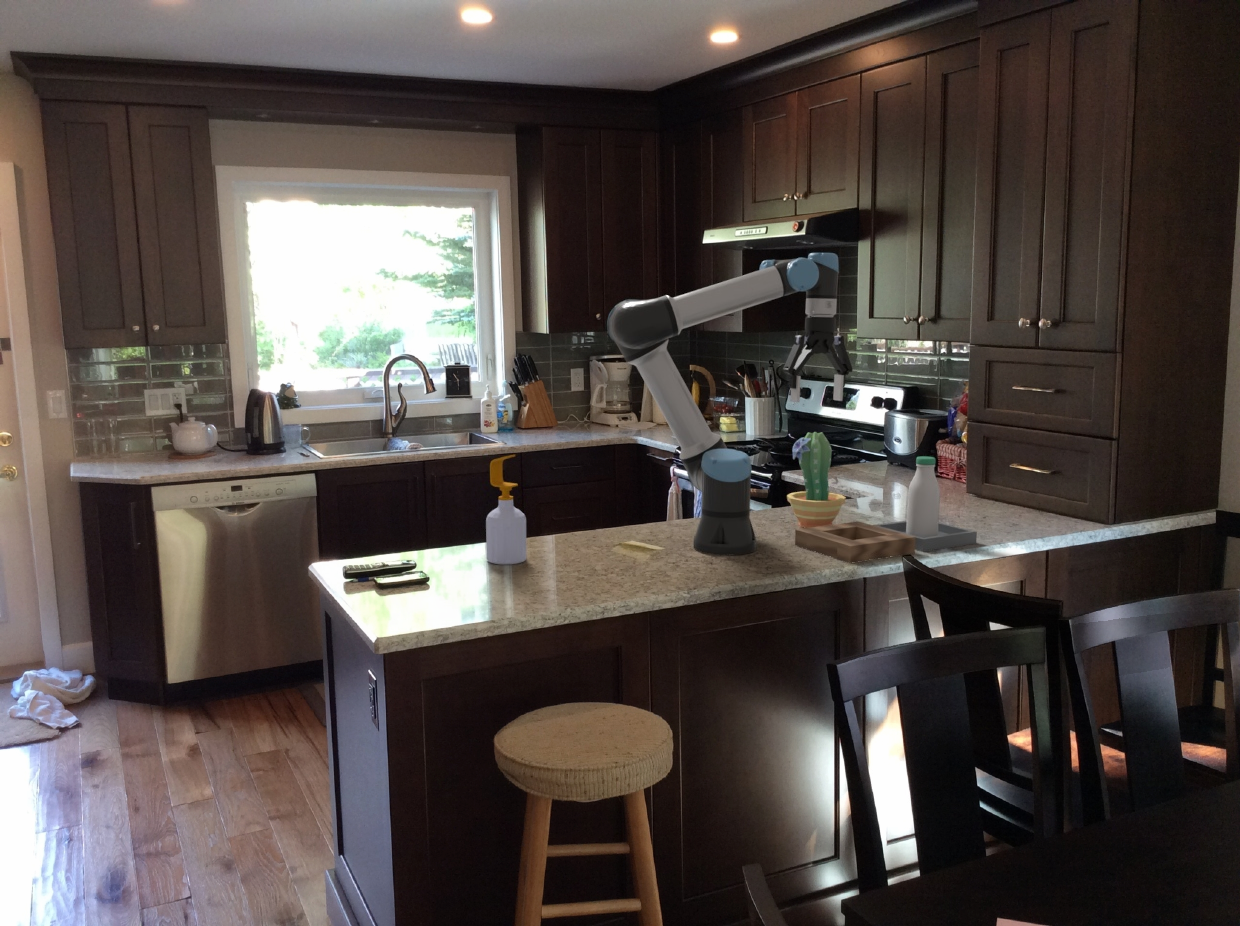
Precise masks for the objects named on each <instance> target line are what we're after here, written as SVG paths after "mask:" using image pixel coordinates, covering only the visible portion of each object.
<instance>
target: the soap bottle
mask: <svg viewBox="0 0 1240 926" xmlns="http://www.w3.org/2000/svg"><path fill="white" fill-rule="evenodd" d="M514 457H516V454H511V455H505V456H501V457H498V458H494V459H492V460H491V461H490V463H489V478H490V479H489V481H490V485H491V486H493V487H495V488H499V491H501V495H500V496H498V505H497V507H496V508H494V509H492V510H491V511H490V512H489V513H488V514H487V516H486V518H485V519H486V520H485V529H486V530H485V532H486V536H485V538H486V539H485V541H486V548H485V549H486V560H487V561H488V563H491V564H494V565H504V566H507V565H509V566H510V565H518V564H522V563H523V562H526V560H527V517H526V515H525V513H523V512H522V511H521V510H520V509H519V508H516V507H515V506H514V496H513V495H510V491H512V490H513V489H512V488H515V487H518V486H519V485H518V483H515V482H507V481H505V480H504V477H503V464H504V461H505V460H507V459H510V458H514Z"/></svg>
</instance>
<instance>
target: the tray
mask: <svg viewBox="0 0 1240 926" xmlns="http://www.w3.org/2000/svg"><path fill="white" fill-rule="evenodd" d="M906 523H907V520H901V521H893V522H886V523H878V524H872V525H873V526H877V527H881V528H884V529H888V530H892V531H895V532H899V533H903V534H906V535H910V536H914V537H916V538H915V551H920V552H928V551H934V550H935V551H936V550H941V549H948V548H949V549H950V548H953V547H954V548H955V547H962V546H968V545H975V544H977V538H978V537H977V535H978V531H976V530H972V529H968V528H964V527H960V526H957V525H956V526H955V525H953V524H952V525H951V524H948V523H944V522H940V521H939V526H938V536H932V537H925V538H922V537H918V536H915V535H911V534H907V533H906Z"/></svg>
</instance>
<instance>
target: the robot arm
mask: <svg viewBox="0 0 1240 926" xmlns="http://www.w3.org/2000/svg"><path fill="white" fill-rule="evenodd" d="M839 273H840V271H839V257H838V254H836V253H833V252H811V253H808V256H807V258H806V257H802V256H801V257H798V258H791V259H766V260H763V261H761V264H760V265H759V270H755V271H753V272H749V273H746V274H744V275H740V276H737V277H734V278H730V279H728V280H723V281H722V282H719V283H715V284H712V285H709V286H705V287H702V288H698V289H696V290H693V291H689V292H687V293H684V294H680V295H676V296H674V297H671V296H670V295H667V294H665V295H663V296H660V297H656V298H650V299H633V298H632V299H631V298H629V299H625V300H623V301H620V302H619V303H617V304H616V305H615V306H614V307H613V308H612V309H611V311H610V312H609V314H608V317H607V321H606V322H607V323H606V327H607V333H608V335H609V337H610V339H611V340H612V341H613V342H614V343H615V344H616V346H617V347H618V349H619V351H620V353H621V355H622V356H623V358H624V360H625V362H626V363H627V364H629V365H632V366H635V367H636V369H637V371H638V373H639V374H640V376H641V377H642V379H643V381H644V384H645V385H646V387H647V389H648V390H649V392H650V394H651V396H652V398H653V399H654V401H655V403H656V405H657V406H658V409H659V411H660V412H661V414H662V416H663V417H664V420H665V421H666V423H667V425H668V426H669V429H670V431H671V432H672V434H673V436H674V438H675V440H676V441H677V442H678V445H679V446H680V454H679V457H678V458H679V459H680V460H681V462H682V465H683V467H684V469H685V470H686V474H687V477H688V480H689V481H690V483H691V485H692V486H693V487H695V489H697V490H698V491H699V492H701V503H700V504H701V507H700V509H701V514H700V518H699V521H698V522H699V523H698V525H697V528H696V531H695V535H694V537H693V549H694V550H695V551H697V552H700V553H704V554H708V555H716V556H736V555H737V556H740V555H746V554H750V553H753V552H755V551H757V538H756V535H755V531H754V528H753V527H754V526H753V525H752V522H751V521H752V520H751V516H750V515H751V481H752V480H751V479H752V477H751V476H752V472H753V471H752V470H753V469H752V464H751V461H752V460H751V458H750V456H749V454H748V453H745V452H744V451H741V450H737V449H732V448H728V447H727V446H726V443H725V442H724V440H723V438H722V436H721V435H720V434H718V433H715V432H712V430H711V429H710V427H709V425H708V423H707V421H706V419H705V417H704V416H703V414H702V412H701V410H700V409H699V406H698V404H697V403H696V401H695V399H694V397H693V395H692V393H691V392H690V390H689V387H688V386H687V384H686V383H685V380H684V379H683V377H682V376H681V373H680V371H679V370H678V368H677V366H676V364H675V363H674V361H673V360H674V359H672V357H671V355H670V353H669V351H668V348H667V347H668V343H669V338H670V339H671V338H673V337H676V336H679V335H680V334H681V332H682V330H683V329H687V328H689V327H693V326H695V325H699V324H701V323H705V322H708V321H711V320H714V319H717V318H721V317H725V316H726V315H729V314H732V313H735V312H738V311H741V310H745V309H747V308H751V307H754V306H757V305H760V304H763V303H767V302H770V301H772V300H775V299H779V298H781V297H785V296H789V295H791V294H795V293H798V292H806V293H805V294H806V295H805V298H806V299H805V315H807V316H805V318H804V319H805V320H804V331H805V336H804V335H800V334H799V335H798V334H797V335H795V336H794V340H793V345H792V347H791V350H790V352H789V354H788V357H787V359H786V361H785V364H784V366H783V368H782V372H783V373H784V374H786V375H788V376H789V380H788V388H789V389H790V398H789V399H790V402H792V403H800V400H801V399H800V396H801V380H802V379H801V378H802V377H801V375H799V374H800V373H801V371H802V370H803V368H804V367H805V365H806V363H808V361H809V360H810V358H811V357H812V356H814V355H815V354H816V355H819V354H823V355H825V356H826V357H827V359H828V360H829V362H830V364H831V365H832V367H833V368H834V370H835V371H836V374H834V376H833V377H834V379H833V398H832V400H834V401H839V402H843V399H844V397H843V395H844V388H845V386H846V376H848V375H849V374H850V373H852V372H853V366H852V363H851V361H850V357H849V354H848V352H847V349H846V345H845V337H844V335H834V333H835V331H836V324H837V323H836V322H837V319H836V317H834V316H835V315H837V303H838V302H837V301H838V299H837V298H838V281H839ZM833 344H834V346H833ZM804 345H805V346H804Z"/></svg>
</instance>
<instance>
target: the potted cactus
mask: <svg viewBox="0 0 1240 926" xmlns="http://www.w3.org/2000/svg"><path fill="white" fill-rule="evenodd" d="M791 450H792V459H793V460H795V459H796V458H797V459H798V463H799V467H800V469H801V473H802V475H803V480H804V481H803V482H804V487H805V488H804V489H805V491H797V492H796V491H795V492H791V493H788V494H787V495H786V499H787V502H788V503H790V506H791V509H792V512H793V515H795V518H796V520H797V521H798V524H799V525H800V526H801V527H800V526H799V527H800V528H802V527H805V528H811V527H818V526H826V525H833V521H834V520H835V519H836V518H837V517H838V515H839V513H840V511H841V508H842V506H843V505H844V504H845V503H846V499H847V497H846V496H844V495H843V494H841V493H840V494H839V493H835V492H830V491H829V472H830V469H831V468H830V467H831V464H832V463H831V462H832V453H833V452H832V451H833V450H832V446H831V444H830V441H829V440H828V438H827V437H826V436H825V434H824V432H817V431H814V432H807V433H806V435H805V436H804V437H800V438H799V439H798V440H796V441H795V442H794V444H793V446H792V449H791ZM798 524H797V525H798Z"/></svg>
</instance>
